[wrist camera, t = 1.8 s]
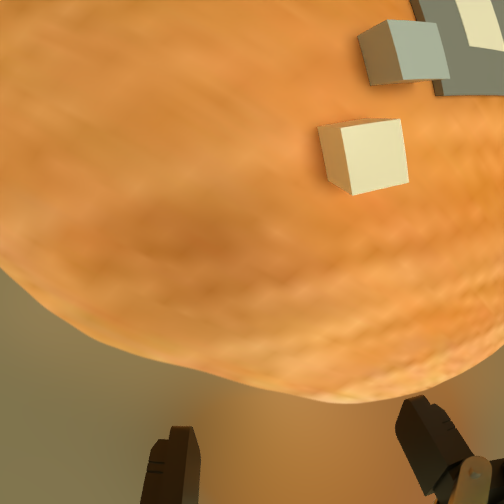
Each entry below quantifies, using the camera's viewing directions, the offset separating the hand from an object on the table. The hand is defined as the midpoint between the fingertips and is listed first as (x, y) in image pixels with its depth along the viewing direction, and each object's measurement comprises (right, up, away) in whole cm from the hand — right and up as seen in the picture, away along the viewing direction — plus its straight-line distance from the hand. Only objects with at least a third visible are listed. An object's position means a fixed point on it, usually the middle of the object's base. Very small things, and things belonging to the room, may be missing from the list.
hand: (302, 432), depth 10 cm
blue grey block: (+11, +24, +13) cm, 30 cm away
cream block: (+7, +16, +16) cm, 24 cm away
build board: (+23, +32, +11) cm, 41 cm away
